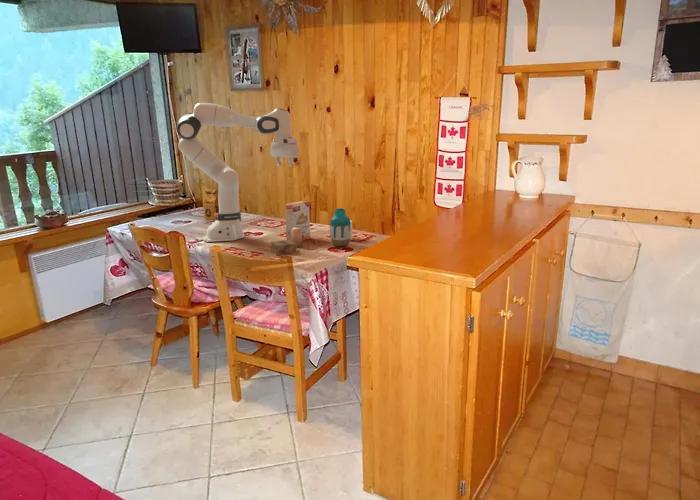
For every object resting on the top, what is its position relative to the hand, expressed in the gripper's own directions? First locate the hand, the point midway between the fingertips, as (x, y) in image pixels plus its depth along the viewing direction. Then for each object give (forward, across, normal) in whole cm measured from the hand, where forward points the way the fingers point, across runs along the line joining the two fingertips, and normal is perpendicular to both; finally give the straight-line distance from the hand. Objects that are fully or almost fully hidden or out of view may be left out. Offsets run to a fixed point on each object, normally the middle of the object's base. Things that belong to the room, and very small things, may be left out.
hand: (284, 166), depth 277 cm
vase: (+40, +38, +4) cm, 55 cm away
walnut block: (+40, +25, -24) cm, 53 cm away
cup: (+40, +29, +14) cm, 51 cm away
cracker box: (+40, +12, -3) cm, 42 cm away
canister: (+40, +21, -12) cm, 46 cm away
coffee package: (+39, -72, -4) cm, 82 cm away
